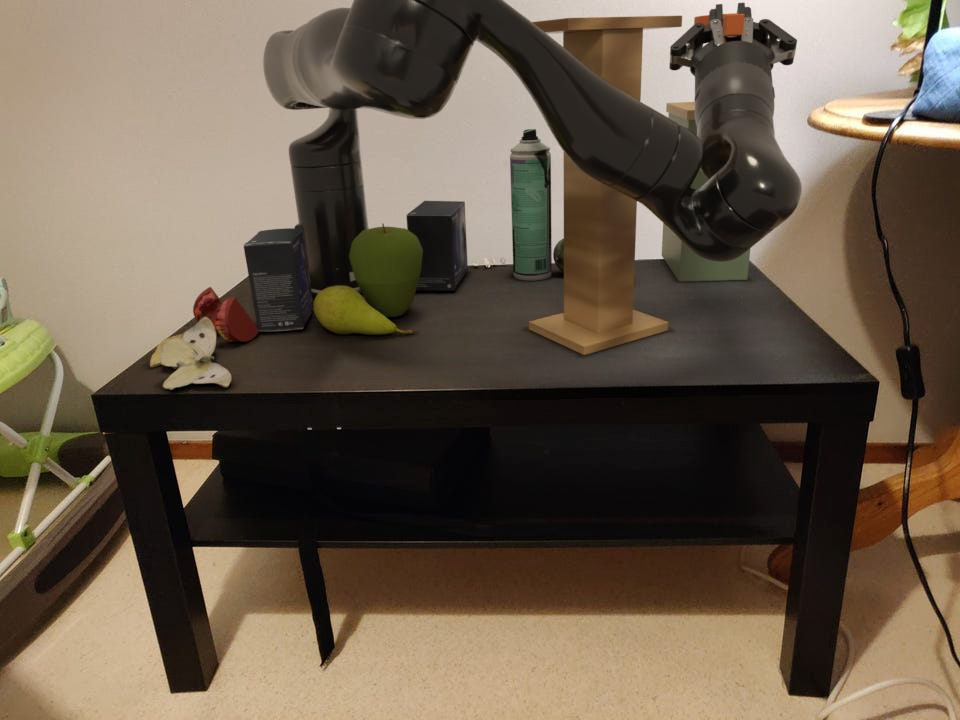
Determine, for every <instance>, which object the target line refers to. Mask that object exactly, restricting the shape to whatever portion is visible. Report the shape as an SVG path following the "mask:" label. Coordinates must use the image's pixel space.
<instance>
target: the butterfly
mask: <svg viewBox="0 0 960 720" xmlns="http://www.w3.org/2000/svg"><path fill="white" fill-rule="evenodd" d="M181 334H182V336H181V337H182V339H179V338H173V339H170V340H168V341H167V342H165V343H164V344H163V345H162V348H161V357H160V362H161V365H160V366H163V367H164V366H165V367H171V368H172V369H174V370H175V371H173V372H172V373H171V374H170V375H169V376H168V378H166V380H165V381H164V382H163V384H162V387H163V388H164V389H166V390H170V391H172V390H174V389H178V388H181V387H186V386H188V385H190V384H194V385H199V384H201V385H203V384H209V385H210V384H211V385H213V384H215V385H218V386H220V387H222V388H226V389H228V388H229V387H230V384H231V382H232V374H231V372H230V371H229V370H228V369H227V368H225V367H223V366H222V365H221V364H219V363H216V362H213V361H215V358H216V357H214V355H213V353H214V352H215V349H216V345H217V334H216V332H215V327H214V325H213V323H212V321H211V320H210V319H209V318H207V317H204V318H202V319H201V320H200V321H199V322H198V323H197V322H196V324H194V325H193V326H191V327H190V328H188V329H186V330H185V331H184V332H183V333H181ZM212 355H213V356H212Z"/></svg>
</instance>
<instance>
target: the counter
mask: <svg viewBox="0 0 960 720" xmlns="http://www.w3.org/2000/svg"><path fill="white" fill-rule="evenodd" d="M665 109H666V110H665V112H666V113H668V116H667V117H668V118H670V119H672V120H673V121H675V122H677V123H679V124H680V125H682V126H684V127H686V128H687V129H689V130H690V131H692V132H693V133H694V134H696V135H697V126H696V122H695V101H681V102H666V107H665ZM708 180H709V179H708V178H707V177H706V176H705V175H704V174H703V172H702V170H701V168H700V170H699V172H698V174H697V176H696V178H695V180H694V182H693V183H692V185H691V188H694V189H697V190H698V189H700V187H702V186H703V185H704V184H705V183H706V182H707V181H708ZM661 237H662V241H661V257H662V258H663V260H664V261H665V263H666V264H667V266H668V267H669V269H670V270H671V271H672V273H673V274H674V276H675V278H676V279H677V281H678V282H679V283H681V282H682V283H683V282H716V281H717V282H718V281H747V280H748V277H749V268H750V257H751V248H750V249H749V250H748V251H746V252H745V253H744V254H742V255H741V256H740V257H738V258H736V259H734V260H731V261H724V262H719V261H711V260H707V259H704V258H702V257H700V256H698V255H697V254H695V253H694V252H693V251H692V250H690V249H689V248H688V247H687V246H686V245H685V244H684V243H683V242H682V241H681V240H680V239H679V237H678V236H677V235H676V234H675V233H674V232H673V231H672V230H671V229H670V228H669V227H667V226H666V225H665V224H664V223H663V222H662V236H661Z"/></svg>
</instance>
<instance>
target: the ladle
mask: <svg viewBox="0 0 960 720" xmlns="http://www.w3.org/2000/svg"><path fill="white" fill-rule="evenodd" d="M751 15H752V13H751ZM744 16H745V14H737V12H736V13H723V20H722V27H724V36H725V37H736V36H741V35H743V29H744ZM752 16H753V15H752ZM696 23H703V24H704V25H705V26H706V25H708V23H709V14H707V15H698V16H695V17H694V21H693V25H694V24H696Z"/></svg>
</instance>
